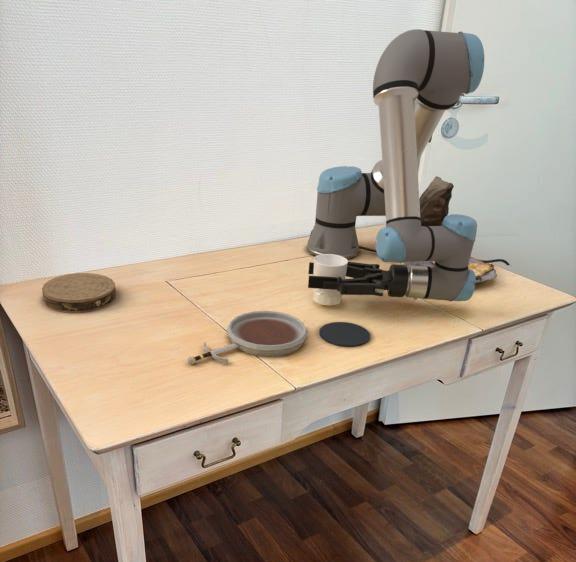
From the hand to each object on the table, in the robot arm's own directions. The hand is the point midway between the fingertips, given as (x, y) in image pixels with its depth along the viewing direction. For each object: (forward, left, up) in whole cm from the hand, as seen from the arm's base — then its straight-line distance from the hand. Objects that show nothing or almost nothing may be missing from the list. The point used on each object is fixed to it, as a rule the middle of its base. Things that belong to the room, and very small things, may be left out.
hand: (308, 274), depth 135 cm
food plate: (-45, -15, -7) cm, 48 cm away
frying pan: (+18, +20, -7) cm, 27 cm away
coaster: (-4, +17, -7) cm, 19 cm away
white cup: (-5, +1, -6) cm, 8 cm away
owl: (-46, -37, -7) cm, 59 cm away
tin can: (+52, -8, -7) cm, 53 cm away
